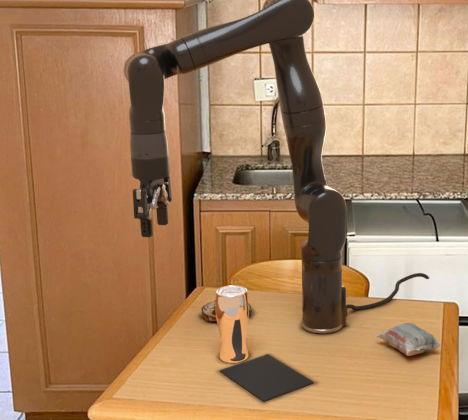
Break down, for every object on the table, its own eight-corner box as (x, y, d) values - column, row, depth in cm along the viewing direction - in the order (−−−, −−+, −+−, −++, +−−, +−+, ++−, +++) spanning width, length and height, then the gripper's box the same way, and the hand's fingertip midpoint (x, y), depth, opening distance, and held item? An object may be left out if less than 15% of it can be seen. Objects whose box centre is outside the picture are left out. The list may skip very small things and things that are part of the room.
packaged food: (407, 364, 168) (408, 342, 166) (375, 343, 178) (376, 322, 176) (441, 355, 172) (442, 334, 170) (408, 335, 182) (408, 315, 180)
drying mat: (219, 371, 166) (219, 370, 166) (268, 355, 173) (268, 354, 173) (263, 402, 154) (263, 400, 153) (313, 383, 160) (313, 381, 160)
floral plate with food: (254, 305, 200) (253, 276, 198) (248, 324, 188) (247, 294, 186) (205, 305, 200) (204, 276, 198) (197, 324, 189) (195, 294, 187)
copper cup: (245, 365, 168) (242, 298, 164) (213, 362, 170) (210, 295, 166) (254, 350, 175) (252, 285, 171) (223, 348, 176) (220, 283, 172)
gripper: (153, 161, 156) (159, 242, 160) (179, 147, 169) (184, 221, 173) (117, 160, 157) (124, 240, 162) (146, 146, 171) (151, 220, 175)
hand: (155, 230), depth 167 cm, fingers open, 8 cm apart
